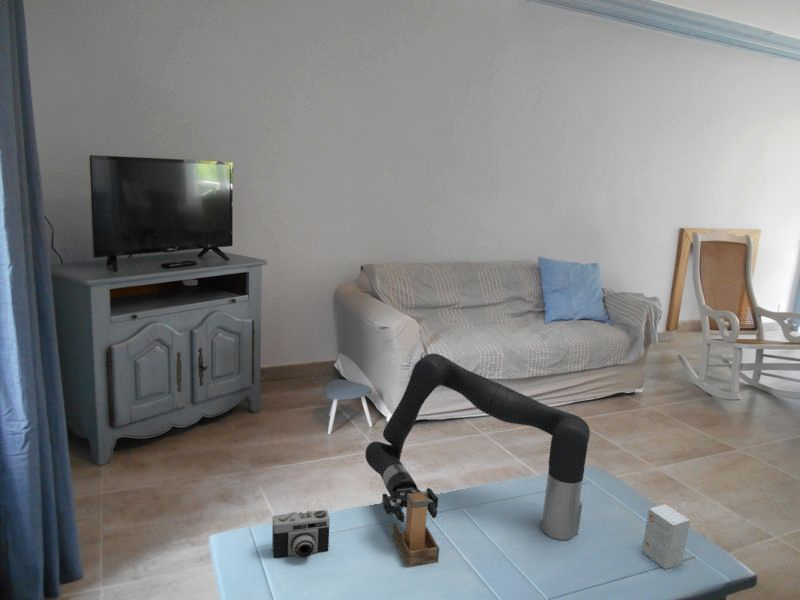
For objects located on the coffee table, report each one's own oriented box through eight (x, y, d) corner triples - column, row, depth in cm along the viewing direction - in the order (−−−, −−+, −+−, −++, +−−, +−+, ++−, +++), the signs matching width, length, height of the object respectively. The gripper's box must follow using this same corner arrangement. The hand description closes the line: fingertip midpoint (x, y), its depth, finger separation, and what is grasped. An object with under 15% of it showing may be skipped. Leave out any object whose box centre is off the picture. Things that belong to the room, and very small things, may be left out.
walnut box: (421, 532, 164) (422, 519, 163) (438, 562, 153) (439, 548, 152) (392, 536, 162) (393, 523, 161) (407, 567, 150) (408, 553, 149)
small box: (682, 564, 158) (691, 520, 155) (665, 570, 155) (673, 525, 152) (657, 545, 165) (665, 503, 162) (640, 551, 162) (648, 508, 159)
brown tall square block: (418, 539, 160) (422, 491, 157) (424, 548, 156) (428, 500, 153) (403, 541, 159) (407, 493, 155) (409, 551, 155) (412, 502, 151)
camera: (274, 569, 147) (275, 532, 144) (271, 547, 154) (272, 513, 152) (331, 561, 151) (333, 525, 148) (325, 540, 158) (327, 507, 156)
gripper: (375, 474, 165) (393, 507, 150) (424, 468, 170) (446, 500, 155) (374, 498, 167) (391, 533, 152) (422, 492, 171) (443, 526, 157)
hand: (419, 517), depth 153 cm, fingers open, 8 cm apart
